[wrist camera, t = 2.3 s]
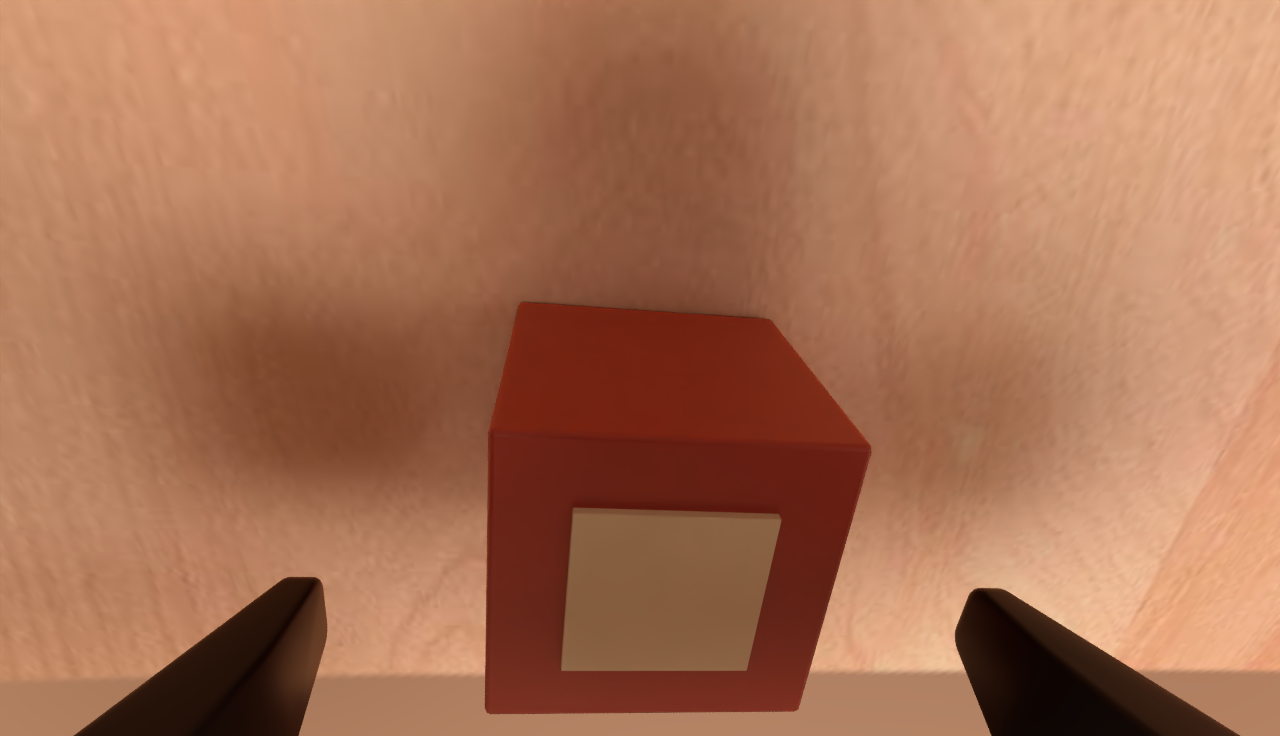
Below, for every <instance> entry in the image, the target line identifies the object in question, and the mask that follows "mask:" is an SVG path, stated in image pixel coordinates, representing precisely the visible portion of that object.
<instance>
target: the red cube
mask: <svg viewBox="0 0 1280 736" xmlns="http://www.w3.org/2000/svg"><path fill="white" fill-rule="evenodd" d="M870 456H871V445H870V444H869V443H868V442H867V440H866V439H865V438H864V437H863V435H862V434H861V433H860V432H859V430H858V429H857V428H856V427H855V425H854V424H853V423H852V422H851V420H850V419H849V418H848V416H847V415H846V414H845V413H844V411H843V410H842V409H841V408H840V406H839V405H838V404H837V403H836V401H835V400H834V399H833V398H832V396H831V395H830V394H829V393H828V391H827V390H826V389H825V388H824V386H823V385H822V384H821V382H820V381H819V380H818V379H817V377H816V376H815V375H814V374H813V372H812V371H811V370H810V369H809V367H808V366H807V365H806V364H805V362H804V361H803V360H802V359H801V357H800V356H799V355H798V354H797V352H796V351H795V350H794V348H793V347H792V346H791V345H790V343H789V342H788V341H787V340H786V338H785V337H784V336H783V335H782V333H781V332H780V331H779V330H778V328H777V327H776V326H775V325H774V323H773V322H772V321H771V320H769V319H758V318H744V317H729V316H715V315H700V314H686V313H671V312H657V311H642V310H628V309H613V308H599V307H584V306H570V305H556V304H541V303H527V302H523V303H520V304H519V306H518V310H517V314H516V318H515V323H514V327H513V331H512V335H511V340H510V344H509V348H508V352H507V357H506V361H505V365H504V369H503V374H502V378H501V382H500V387H499V391H498V395H497V399H496V404H495V408H494V412H493V416H492V421H491V425H490V429H489V438H488V514H487V590H486V666H485V709H486V711H487V713H489V714H551V713H552V714H553V713H662V712H663V713H667V712H668V713H669V712H770V711H771V712H774V711H775V712H779V711H780V712H782V711H796V710H798V709H799V705H800V702H801V698H802V695H803V691H804V688H805V684H806V680H807V677H808V674H809V670H810V666H811V663H812V659H813V656H814V652H815V649H816V645H817V642H818V638H819V635H820V631H821V628H822V624H823V621H824V617H825V614H826V610H827V607H828V603H829V600H830V596H831V593H832V589H833V586H834V582H835V579H836V575H837V572H838V568H839V565H840V561H841V558H842V554H843V551H844V547H845V543H846V540H847V536H848V533H849V529H850V526H851V522H852V519H853V515H854V512H855V508H856V505H857V501H858V498H859V494H860V491H861V487H862V484H863V480H864V477H865V473H866V470H867V466H868V463H869V459H870Z"/></svg>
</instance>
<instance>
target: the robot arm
mask: <svg viewBox="0 0 1280 736" xmlns="http://www.w3.org/2000/svg"><path fill="white" fill-rule="evenodd" d="M326 638H327V617H326V608H325V600H324V591H323V585H322V583H321V580H319V579H318V578H316V577H287V578H285V579H283V580H281V581H280V582H278V583H277V584H276V585H274V586H273V587H272V588H270V589H269V590H268V591H266V592H265V593H264V594H262V595H261V596H260V597H258V598H257V599H256V600H254V601H253V602H252V603H250V604H249V605H248V606H246V607H245V608H244V609H242V610H241V611H240V612H238V613H237V614H236V615H234V616H233V617H232V618H230V619H229V620H227V621H226V622H225V623H223V624H222V625H221V626H219V627H218V628H217V629H215V630H214V631H213V632H211V633H210V634H209V635H207V636H206V637H205V638H203V639H202V640H201V641H199V642H198V643H197V644H195V645H194V646H193V647H191V648H190V649H189V650H187V651H186V652H185V653H183V654H182V655H181V656H179V657H178V658H177V659H175V660H174V661H173V662H171V663H170V664H169V665H167V666H166V667H165V668H163V669H162V670H161V671H159V672H158V673H157V674H155V675H154V676H153V677H151V678H150V679H149V680H147V681H146V682H145V683H143V684H142V685H141V686H139V687H138V688H137V689H135V690H134V691H133V692H131V693H130V694H129V695H127V696H126V697H125V698H123V699H122V700H121V701H119V702H118V703H117V704H115V705H114V706H113V707H112V708H110V709H109V710H107V711H106V712H105V713H103V714H102V715H101V716H99V717H98V718H97V719H95V720H94V721H93V722H91V723H90V724H89V725H87V726H86V727H85V728H83V729H82V730H81V731H79V732H78V733H77V734H76V735H74V736H298V735H299V731H300V728H301V725H302V722H303V718H304V715H305V711H306V708H307V705H308V701H309V698H310V694H311V691H312V687H313V684H314V681H315V677H316V674H317V671H318V667H319V664H320V660H321V657H322V654H323V650H324V647H325V643H326ZM955 642H956V647H957V650H958V652H959V655H960V657H961V660H962V662H963V665H964V667H965V670H966V673H967V675H968V678H969V680H970V683H971V685H972V688H973V690H974V693H975V695H976V698H977V700H978V703H979V705H980V708H981V710H982V713H983V715H984V718H985V720H986V723H987V725H988V728H989V730H990V733H991V735H992V736H1240V735H1238V734H1237V733H1235V732H1233V731H1231V730H1230V729H1228V728H1227V727H1225V726H1224V725H1222V724H1220V723H1219V722H1217V721H1216V720H1214V719H1212V718H1211V717H1209V716H1208V715H1206V714H1204V713H1203V712H1201V711H1199V710H1198V709H1196V708H1195V707H1193V706H1191V705H1190V704H1188V703H1187V702H1185V701H1183V700H1182V699H1180V698H1178V697H1177V696H1175V695H1174V694H1172V693H1170V692H1169V691H1167V690H1166V689H1164V688H1162V687H1161V686H1159V685H1157V684H1156V683H1154V682H1153V681H1151V680H1149V679H1148V678H1146V677H1144V676H1143V675H1141V674H1140V673H1138V672H1137V671H1135V670H1133V669H1132V668H1130V667H1128V666H1127V665H1125V664H1124V663H1122V662H1120V661H1119V660H1117V659H1116V658H1114V657H1112V656H1111V655H1109V654H1108V653H1106V652H1104V651H1103V650H1101V649H1099V648H1098V647H1096V646H1095V645H1093V644H1091V643H1090V642H1088V641H1087V640H1085V639H1083V638H1082V637H1080V636H1079V635H1077V634H1075V633H1074V632H1072V631H1070V630H1069V629H1067V628H1066V627H1064V626H1062V625H1061V624H1059V623H1058V622H1056V621H1054V620H1053V619H1051V618H1049V617H1048V616H1046V615H1045V614H1043V613H1041V612H1040V611H1038V610H1037V609H1035V608H1033V607H1032V606H1030V605H1029V604H1027V603H1025V602H1024V601H1022V600H1020V599H1019V598H1017V597H1016V596H1014V595H1012V594H1011V593H1009V592H1007V591H1006V590H1003V589H998V588H977V589H974V590H973V591H972V592H971V593H970V594H969V596H968V599H967V601H966V604H965V606H964V609H963V611H962V614H961V617H960V619H959V622H958V624H957V627H956V630H955Z"/></svg>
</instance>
